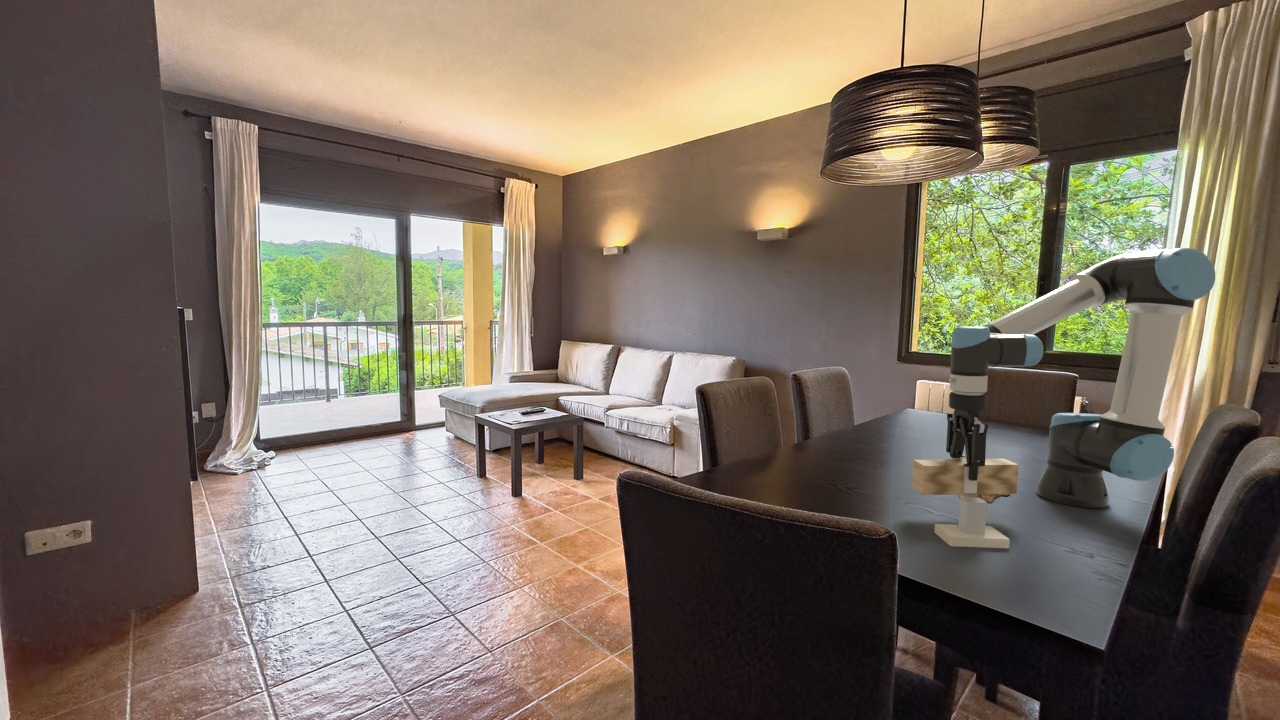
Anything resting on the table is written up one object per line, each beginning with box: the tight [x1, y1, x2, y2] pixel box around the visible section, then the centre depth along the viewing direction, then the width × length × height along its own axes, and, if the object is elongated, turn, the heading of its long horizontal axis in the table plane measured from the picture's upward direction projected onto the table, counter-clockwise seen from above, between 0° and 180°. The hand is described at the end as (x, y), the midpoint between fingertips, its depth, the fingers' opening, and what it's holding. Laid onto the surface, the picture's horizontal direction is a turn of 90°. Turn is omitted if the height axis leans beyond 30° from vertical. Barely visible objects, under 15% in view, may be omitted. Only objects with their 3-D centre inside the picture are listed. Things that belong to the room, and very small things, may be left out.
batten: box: [911, 458, 1019, 496], centre depth 130 cm, size 22×5×7 cm, turn 90°
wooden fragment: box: [959, 494, 1011, 504], centre depth 151 cm, size 26×11×1 cm, turn 124°
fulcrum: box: [933, 497, 1011, 549], centre depth 118 cm, size 12×7×9 cm, turn 87°
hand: (963, 488), depth 130 cm, fingers closed on batten, 5 cm apart
